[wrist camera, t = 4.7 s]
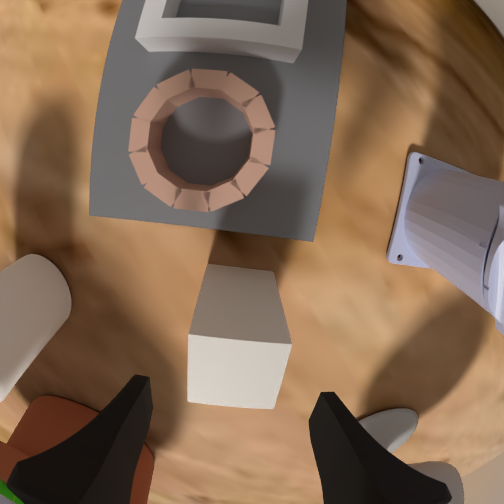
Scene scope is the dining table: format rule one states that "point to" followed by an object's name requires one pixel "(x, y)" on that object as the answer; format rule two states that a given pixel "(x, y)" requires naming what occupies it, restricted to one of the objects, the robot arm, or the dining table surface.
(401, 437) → the chalice
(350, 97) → the dining table surface
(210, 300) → the square peg
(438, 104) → the dining table surface
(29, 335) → the can
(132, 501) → the potted cactus
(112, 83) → the socket board
